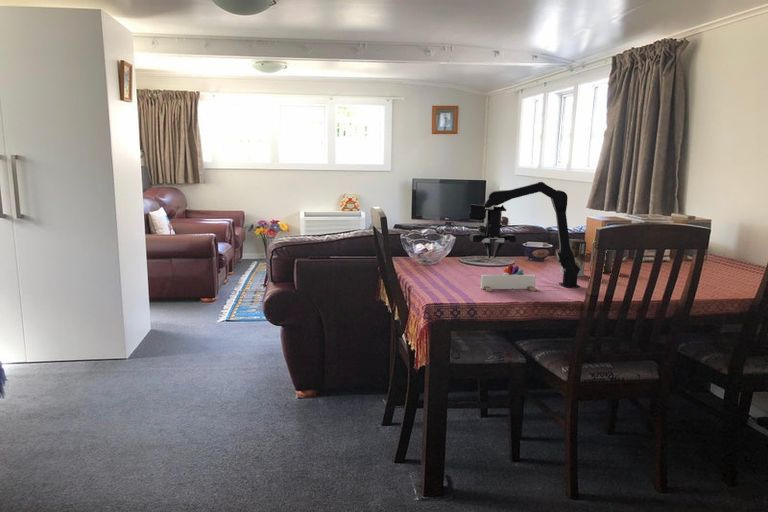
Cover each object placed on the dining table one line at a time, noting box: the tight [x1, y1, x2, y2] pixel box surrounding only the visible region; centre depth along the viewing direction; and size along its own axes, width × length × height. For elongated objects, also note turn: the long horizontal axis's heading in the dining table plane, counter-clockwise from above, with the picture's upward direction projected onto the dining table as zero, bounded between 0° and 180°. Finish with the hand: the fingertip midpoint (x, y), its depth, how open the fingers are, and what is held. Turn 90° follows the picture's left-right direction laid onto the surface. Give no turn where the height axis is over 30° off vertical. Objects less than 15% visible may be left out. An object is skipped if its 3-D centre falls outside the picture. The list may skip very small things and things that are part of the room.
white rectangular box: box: [480, 274, 537, 292], centre depth 211 cm, size 6×22×6 cm, turn 97°
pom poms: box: [501, 264, 526, 275], centre depth 226 cm, size 8×10×7 cm
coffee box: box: [560, 238, 587, 277], centre depth 242 cm, size 9×6×16 cm
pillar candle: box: [589, 241, 614, 274], centre depth 252 cm, size 10×10×15 cm
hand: (491, 258), depth 224 cm, fingers closed
